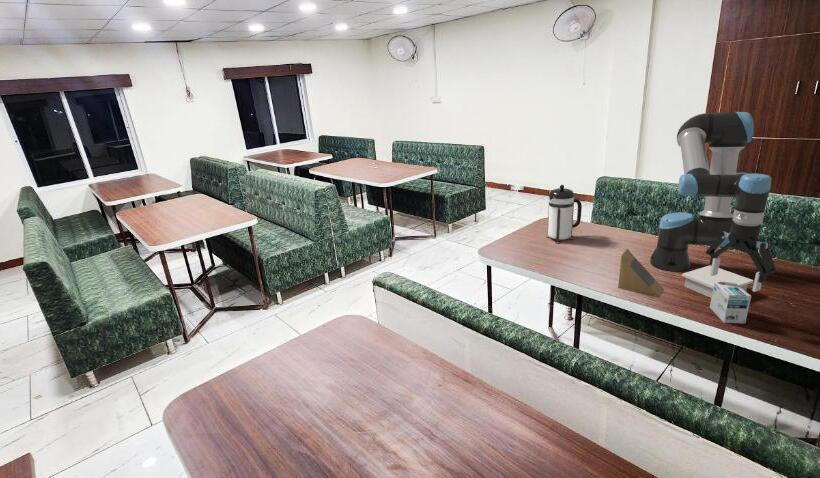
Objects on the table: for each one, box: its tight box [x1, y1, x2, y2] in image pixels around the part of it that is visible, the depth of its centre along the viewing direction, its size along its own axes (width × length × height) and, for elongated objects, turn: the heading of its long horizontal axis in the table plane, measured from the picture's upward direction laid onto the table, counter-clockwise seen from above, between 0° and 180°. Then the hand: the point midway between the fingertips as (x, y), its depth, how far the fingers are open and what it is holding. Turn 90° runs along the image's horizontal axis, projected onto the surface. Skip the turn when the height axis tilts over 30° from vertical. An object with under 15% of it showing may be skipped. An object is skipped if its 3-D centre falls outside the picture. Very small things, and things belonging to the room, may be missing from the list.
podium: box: [681, 264, 754, 299], centre depth 159 cm, size 16×16×6 cm
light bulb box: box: [709, 282, 752, 324], centre depth 141 cm, size 11×7×11 cm, turn 168°
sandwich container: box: [617, 248, 665, 297], centre depth 163 cm, size 9×15×15 cm, turn 51°
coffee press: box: [545, 184, 583, 243], centre depth 218 cm, size 17×16×30 cm
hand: (734, 282), depth 138 cm, fingers open, 13 cm apart
